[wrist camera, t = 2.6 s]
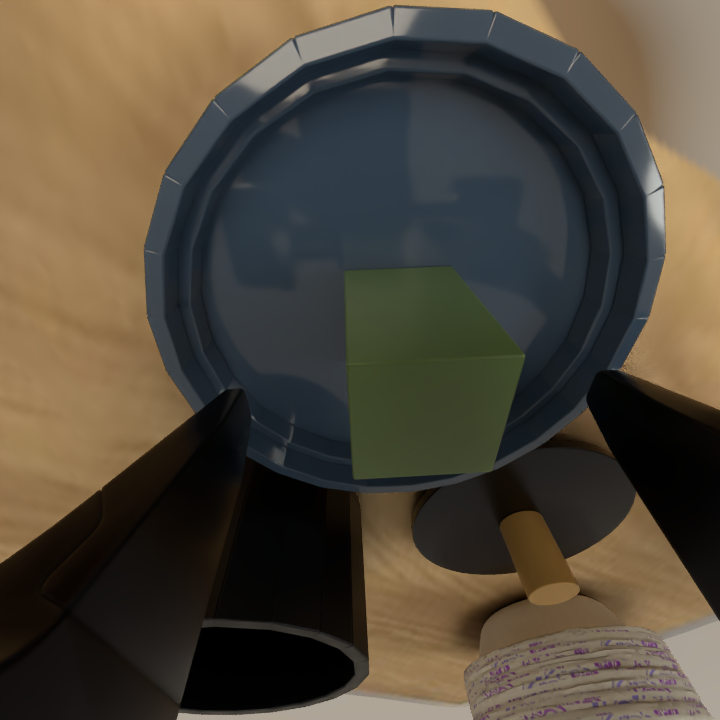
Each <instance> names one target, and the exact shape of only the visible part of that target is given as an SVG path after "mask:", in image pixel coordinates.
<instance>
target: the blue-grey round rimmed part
mask: <svg viewBox="0 0 720 720" xmlns="http://www.w3.org/2000/svg"><path fill="white" fill-rule="evenodd" d="M144 248H145V249H144V264H145V285H146V305H147V315H148V316H147V318H148V321H149V324H150V326H151V329H152V332H153V335H154V338H155V341H156V343H157V346H158V349H159V352H160V355H161V357H162V360H163V363H164V366H165V369H166V371H167V372H168V375H169V376H170V377H171V379H172V380H173V382H174V383H175V385H176V386H177V388H178V389H179V390H180V392H181V393H182V395H183V396H184V398H185V399H186V400H187V402H188V403H189V405H190V406H191V408H192V409H193V411H194V412H195V413H197V412H198V411H199V410H201V409H202V408H203V407H204V406H206V405H207V404H208V403H209V402H211V401H212V400H213V399H214V398H216V397H217V396H218V395H220V394H221V393H222V392H223V391H225V390H226V389H237V388H241V389H243V390H244V391H245V393H246V397H247V400H248V404H249V407H250V411H251V427H250V434H249V441H248V447H247V454H246V456H247V457H249V458H251V459H252V460H254V461H256V462H258V463H260V464H261V465H263V466H265V467H267V468H269V469H270V470H272V471H274V472H276V473H278V474H281V475H284V476H287V477H291V478H294V479H297V480H300V481H303V482H306V483H309V484H312V485H315V486H318V487H322V488H329V489H336V490H343V491H351V492H358V493H405V492H415V491H420V490H426V489H431V488H436V487H442V486H447V485H452V484H455V483H456V484H457V483H460V482H463V481H465V480H468V479H471V478H474V477H477V476H479V475H482V474H485V473H488V472H478V473H461V474H443V475H426V476H408V477H391V478H373V479H354V478H353V475H352V458H351V441H350V424H349V408H348V391H347V374H346V346H345V304H344V271H346V270H370V269H394V268H418V267H442V266H451V267H453V269H454V270H455V271H456V272H457V273H458V275H459V276H460V277H461V278H462V280H463V281H464V282H465V283H466V284H467V286H468V287H469V288H470V289H471V290H472V292H473V293H474V294H475V295H476V296H477V298H478V299H479V300H480V301H481V302H482V304H483V305H484V306H485V307H486V308H487V310H488V311H489V312H490V313H491V314H492V316H493V317H494V318H495V319H496V320H497V322H498V323H499V324H500V325H501V326H502V328H503V329H504V330H505V331H506V332H507V334H508V335H509V336H510V337H511V338H512V340H513V341H514V342H515V343H516V344H517V346H518V347H519V348H520V349H521V350H522V352H523V353H524V354H525V360H524V364H523V367H522V371H521V374H520V378H519V381H518V384H517V388H516V391H515V395H514V398H513V401H512V405H511V408H510V412H509V415H508V419H507V422H506V425H505V429H504V432H503V436H502V439H501V443H500V446H499V449H498V453H497V456H496V460H495V463H494V466H493V470H496V469H499V467H503V466H504V465H506V464H508V463H510V462H512V461H514V460H515V459H517V458H519V457H521V456H523V455H524V454H526V453H528V452H530V451H532V450H534V449H535V448H537V447H539V446H541V445H542V443H543V444H544V443H545V442H547V441H548V440H549V439H550V438H552V437H553V436H554V435H555V434H557V433H558V432H559V431H560V430H562V429H563V428H564V427H565V426H567V425H568V424H569V423H570V422H572V421H573V420H574V419H575V418H577V417H578V416H579V415H580V414H582V413H583V411H585V410H586V409H587V408H588V405H587V402H586V395H587V392H588V390H589V388H590V386H591V383H592V381H593V379H594V377H595V375H596V373H597V372H598V371H601V370H613V369H615V370H619V369H621V367H622V366H623V364H624V362H625V360H626V358H627V356H628V355H629V353H630V351H631V349H632V347H633V346H634V344H635V342H636V340H637V338H638V336H639V335H640V333H641V331H642V329H643V327H644V326H645V324H646V322H647V320H648V317H649V316H650V312H651V308H652V305H653V301H654V297H655V293H656V290H657V286H658V282H659V278H660V275H661V271H662V267H663V264H664V260H665V254H666V242H665V201H664V186H663V181H662V178H661V175H660V173H659V170H658V168H657V165H656V162H655V160H654V157H653V154H652V152H651V149H650V146H649V144H648V141H647V138H646V136H645V133H644V130H643V128H642V125H641V122H640V120H639V117H638V115H636V112H635V111H634V109H632V107H631V106H630V105H629V104H628V103H627V102H626V101H625V100H624V98H622V96H621V95H620V94H619V93H618V92H617V91H616V90H615V89H614V87H613V86H612V85H611V84H610V83H609V82H608V81H607V80H606V79H605V78H604V76H603V75H602V74H601V73H600V72H599V71H598V70H597V69H596V68H595V67H594V66H593V64H591V62H590V61H589V60H588V59H587V58H586V57H585V56H584V54H583V53H582V52H578V49H576V48H574V47H572V46H570V45H568V44H566V43H563V42H561V41H559V40H557V39H555V38H553V37H551V36H549V35H546V34H544V33H542V32H540V31H538V30H536V29H534V28H531V27H529V26H527V25H525V24H523V23H521V22H519V21H516V20H514V19H512V18H510V17H508V16H506V15H504V14H501V13H499V12H497V11H496V12H493V11H492V10H484V9H465V8H445V7H426V6H407V5H394V6H393V7H391V6H386V7H383V8H380V9H377V10H374V11H371V12H368V13H365V14H362V15H358V16H355V17H352V18H349V19H346V20H343V21H340V22H337V23H334V24H330V25H327V26H324V27H321V28H318V29H315V30H312V31H309V32H306V33H302V34H299V35H296V36H295V37H294V39H293V38H290V39H289V40H287V41H286V42H285V43H284V44H282V45H281V46H280V47H278V48H277V49H276V50H274V51H273V52H272V53H271V54H269V55H268V56H267V57H265V58H264V59H263V60H261V61H260V62H259V63H257V64H256V65H255V66H254V67H252V68H251V69H250V70H248V71H247V72H246V73H244V74H243V75H242V76H241V77H239V78H238V79H237V80H235V81H234V82H233V83H231V84H230V85H229V86H228V87H226V88H225V89H224V90H222V91H221V92H220V93H218V94H217V95H216V96H215V99H213V100H211V102H210V103H209V105H208V106H207V108H206V110H205V111H204V113H203V114H202V116H201V117H200V119H199V120H198V122H197V123H196V125H195V126H194V128H193V129H192V131H191V132H190V134H189V135H188V137H187V138H186V140H185V141H184V143H183V144H182V146H181V147H180V149H179V150H178V152H177V153H176V155H175V156H174V158H173V159H172V161H171V162H170V164H169V165H168V167H167V168H166V170H165V174H164V175H163V178H162V182H161V185H160V189H159V193H158V197H157V200H156V204H155V208H154V211H153V215H152V219H151V223H150V226H149V230H148V234H147V237H146V241H145V245H144ZM493 470H492V471H493Z"/></svg>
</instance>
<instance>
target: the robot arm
mask: <svg viewBox="0 0 720 720" xmlns="http://www.w3.org/2000/svg"><path fill="white" fill-rule="evenodd" d="M586 402H587V405H588V407H589V409H590V411H591V413H592V415H593V417H594V419H595V421H596V423H597V425H598V427H599V429H600V431H601V433H602V435H603V436H604V438H605V440H606V442H607V444H608V446H609V448H610V450H611V452H612V454H613V456H614V457H615V459H616V460H617V462H618V464H619V465H620V467H621V468H622V470H623V472H624V473H625V475H626V476H627V478H628V479H629V481H630V482H631V484H632V486H633V487H634V489H635V490H636V492H637V493H638V495H639V496H640V498H641V500H642V501H643V503H644V504H645V506H646V507H647V509H648V510H649V512H650V513H651V515H652V517H653V518H654V520H655V521H656V523H657V524H658V526H659V527H660V529H661V531H662V532H663V534H664V535H665V537H666V538H667V540H668V541H669V543H670V545H671V546H672V548H673V549H674V551H675V552H676V554H677V555H678V557H679V559H680V560H681V562H682V563H683V565H684V566H685V568H686V569H687V571H688V573H689V574H690V576H691V577H692V579H693V580H694V582H695V583H696V585H697V586H698V588H699V590H700V591H701V593H702V594H703V596H704V597H705V599H706V600H707V602H708V604H709V605H710V607H711V608H712V610H713V611H714V613H715V614H716V616H717V618H718V619H719V621H720V410H718V409H716V408H713V407H711V406H708V405H705V404H703V403H700V402H698V401H695V400H693V399H690V398H688V397H685V396H683V395H680V394H678V393H675V392H673V391H670V390H668V389H665V388H663V387H660V386H658V385H655V384H652V383H650V382H647V381H645V380H642V379H640V378H637V377H635V376H632V375H630V374H627V373H625V372H622V371H620V370H615V369H613V370H601V371H598V372H597V373H596V375H595V377H594V379H593V381H592V383H591V386H590V388H589V390H588V392H587V395H586ZM250 427H251V411H250V407H249V404H248V400H247V397H246V393H245V391H244V390H243V389H241V388H237V389H226V390H225V391H223V392H222V393H221V394H220V395H218V396H217V397H216V398H214V399H213V400H212V401H211V402H209V403H208V404H207V405H206V406H204V407H203V408H202V409H201V410H199V411H198V412H197V413H196V414H194V415H193V416H192V417H191V418H189V419H188V420H187V421H186V422H184V423H183V424H182V425H180V426H179V427H178V428H177V429H175V430H174V431H173V432H172V433H170V434H169V435H168V436H167V437H165V438H164V439H163V440H162V441H160V442H159V443H158V444H157V445H155V446H154V447H153V448H152V449H150V450H149V451H148V452H146V453H145V454H144V455H143V456H141V457H140V458H139V459H138V460H136V461H135V462H134V463H133V464H131V465H130V466H129V467H128V468H126V469H125V470H124V471H123V472H121V473H120V474H119V475H118V476H116V477H115V478H114V479H112V480H111V481H110V482H109V483H107V484H106V485H105V486H104V487H103V488H102V491H101V490H99V491H97V492H96V493H95V494H93V495H92V496H91V497H90V498H88V499H87V500H86V501H85V502H83V503H82V504H81V505H80V506H78V507H77V508H76V509H74V510H73V511H72V512H70V513H69V514H68V515H66V516H65V517H64V518H63V519H61V520H60V521H59V522H57V523H56V524H55V525H53V526H52V527H51V528H49V529H48V530H47V531H45V532H44V533H43V534H41V535H40V536H38V537H37V538H36V539H34V540H33V541H32V542H30V543H29V544H27V545H26V546H25V547H23V548H22V549H20V550H19V551H18V552H16V553H15V554H13V555H12V556H11V557H9V558H8V559H6V560H5V561H4V562H2V563H1V564H0V720H176V719H177V716H178V712H179V709H180V704H179V703H180V702H181V700H182V697H183V693H184V689H185V686H186V682H187V679H188V675H189V671H190V668H191V664H192V660H193V657H194V653H195V650H196V646H197V642H198V639H199V635H200V631H201V628H202V624H203V620H204V617H205V613H206V610H207V606H208V602H209V599H210V595H211V591H212V588H213V584H214V581H215V577H216V573H217V570H218V566H219V562H220V559H221V555H222V551H223V548H224V544H225V541H226V537H227V533H228V530H229V526H230V522H231V519H232V515H233V512H234V508H235V504H236V501H237V497H238V493H239V490H240V486H241V482H242V478H243V473H244V467H245V461H246V454H247V447H248V441H249V434H250Z"/></svg>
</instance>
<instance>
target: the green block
mask: <svg viewBox="0 0 720 720" xmlns="http://www.w3.org/2000/svg"><path fill="white" fill-rule="evenodd" d="M344 304H345V346H346V374H347V391H348V408H349V424H350V441H351V458H352V475H353V478H354V479H373V478H391V477H408V476H426V475H443V474H461V473H478V472H491V471H492V470H493V466H494V463H495V460H496V456H497V453H498V449H499V446H500V443H501V439H502V436H503V432H504V429H505V425H506V422H507V419H508V415H509V412H510V408H511V405H512V401H513V398H514V395H515V391H516V388H517V384H518V381H519V378H520V374H521V371H522V367H523V364H524V360H525V354H524V353H523V352H522V350H521V349H520V348H519V347H518V346H517V344H516V343H515V342H514V341H513V340H512V338H511V337H510V336H509V335H508V334H507V332H506V331H505V330H504V329H503V328H502V326H501V325H500V324H499V323H498V322H497V320H496V319H495V318H494V317H493V316H492V314H491V313H490V312H489V311H488V310H487V308H486V307H485V306H484V305H483V304H482V302H481V301H480V300H479V299H478V298H477V296H476V295H475V294H474V293H473V292H472V290H471V289H470V288H469V287H468V286H467V284H466V283H465V282H464V281H463V280H462V278H461V277H460V276H459V275H458V273H457V272H456V271H455V270H454V269H453V267H451V266H442V267H418V268H394V269H370V270H346V271H344Z"/></svg>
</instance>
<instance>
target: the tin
mask: <svg viewBox="0 0 720 720" xmlns="http://www.w3.org/2000/svg"><path fill="white" fill-rule="evenodd" d="M368 675H369V656H368V637H367V619H366V600H365V582H364V563H363V544H362V526H361V509H360V503H359V500H358V497H357V495H356V493H355V492H351V491H343V490H336V489H329V488H322V487H318V486H315V485H312V484H309V483H306V482H303V481H300V480H297V479H294V478H291V477H287V476H284V475H281V474H278V473H276V472H274V471H272V470H270V469H269V468H267V467H265V466H263V465H261V464H260V463H258V462H256V461H254V460H252V459H251V458H249V457H247V456H246V461H245V467H244V473H243V478H242V482H241V486H240V490H239V493H238V497H237V501H236V504H235V508H234V512H233V515H232V519H231V522H230V526H229V530H228V533H227V537H226V541H225V544H224V548H223V551H222V555H221V559H220V562H219V566H218V570H217V573H216V577H215V581H214V584H213V588H212V591H211V595H210V599H209V602H208V606H207V610H206V613H205V617H204V620H203V624H202V628H201V631H200V635H199V639H198V642H197V646H196V650H195V653H194V657H193V660H192V664H191V668H190V671H189V675H188V679H187V682H186V686H185V689H184V693H183V697H182V700H181V702H180V703H179V704H180V709H179V712H178V713H189V714H202V715H203V714H205V715H206V714H207V715H238V714H239V715H241V714H255V713H268V712H277V711H283V710H289V709H295V708H301V707H306V706H310V705H314V704H317V703H321V702H324V701H328V700H331V699H334V698H337V697H339V696H341V695H343V694H345V693H347V692H349V691H351V690H353V689H355V688H357V687H358V686H359V685H360V684H361V683H362V682H363V680H364V679H365V678H366V677H367V676H368Z"/></svg>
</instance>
